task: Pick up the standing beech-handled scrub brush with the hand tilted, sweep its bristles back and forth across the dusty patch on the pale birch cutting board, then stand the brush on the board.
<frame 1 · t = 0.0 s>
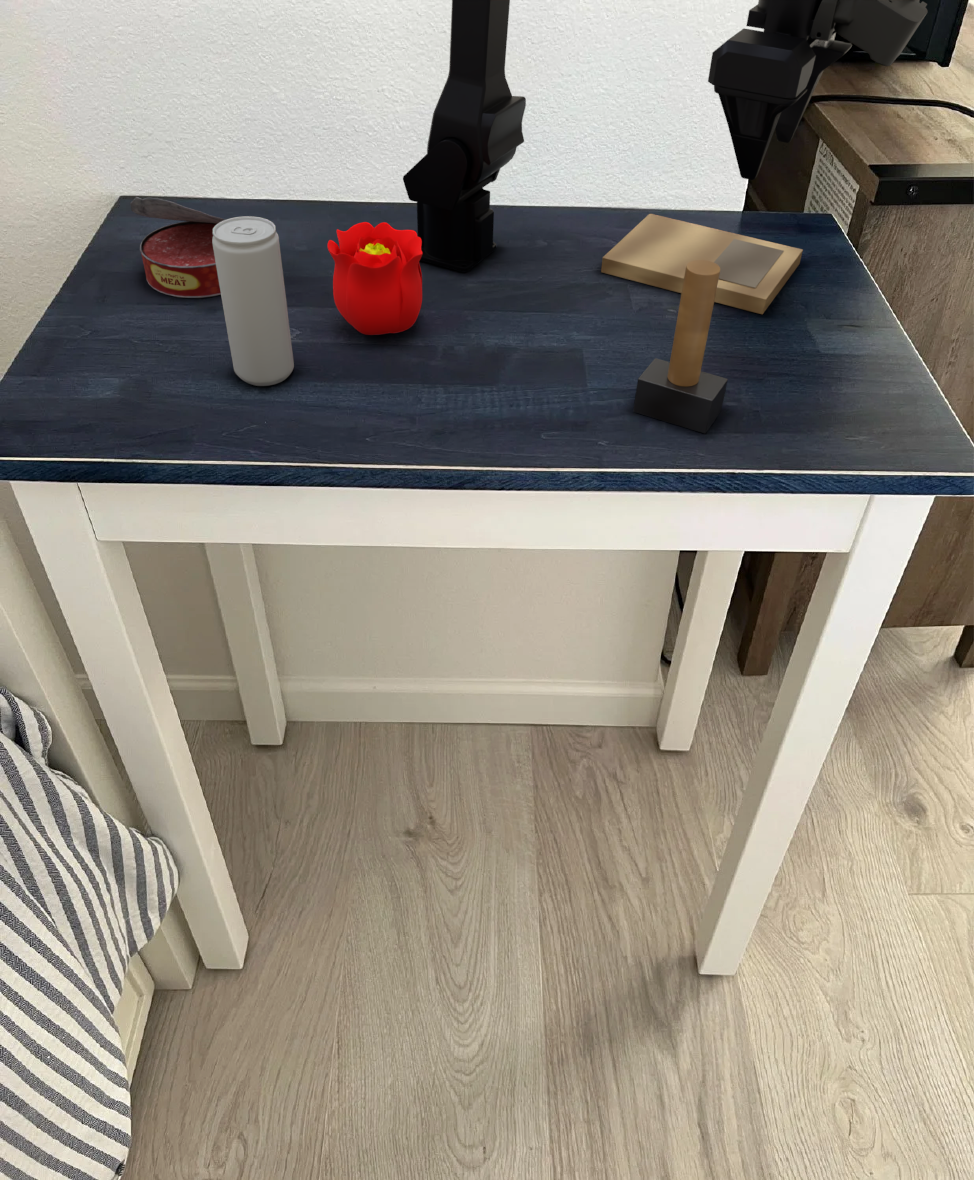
hand: (766, 159, 79), 15 cm above the table, tool pointing down, fingers open, 9 cm apart
cutting board: (701, 268, 98), on the table
canned food: (201, 275, 94), on the table
scrub brush: (677, 411, 79), on the table
flower: (380, 330, 88), on the table
beverage can: (265, 375, 82), on the table
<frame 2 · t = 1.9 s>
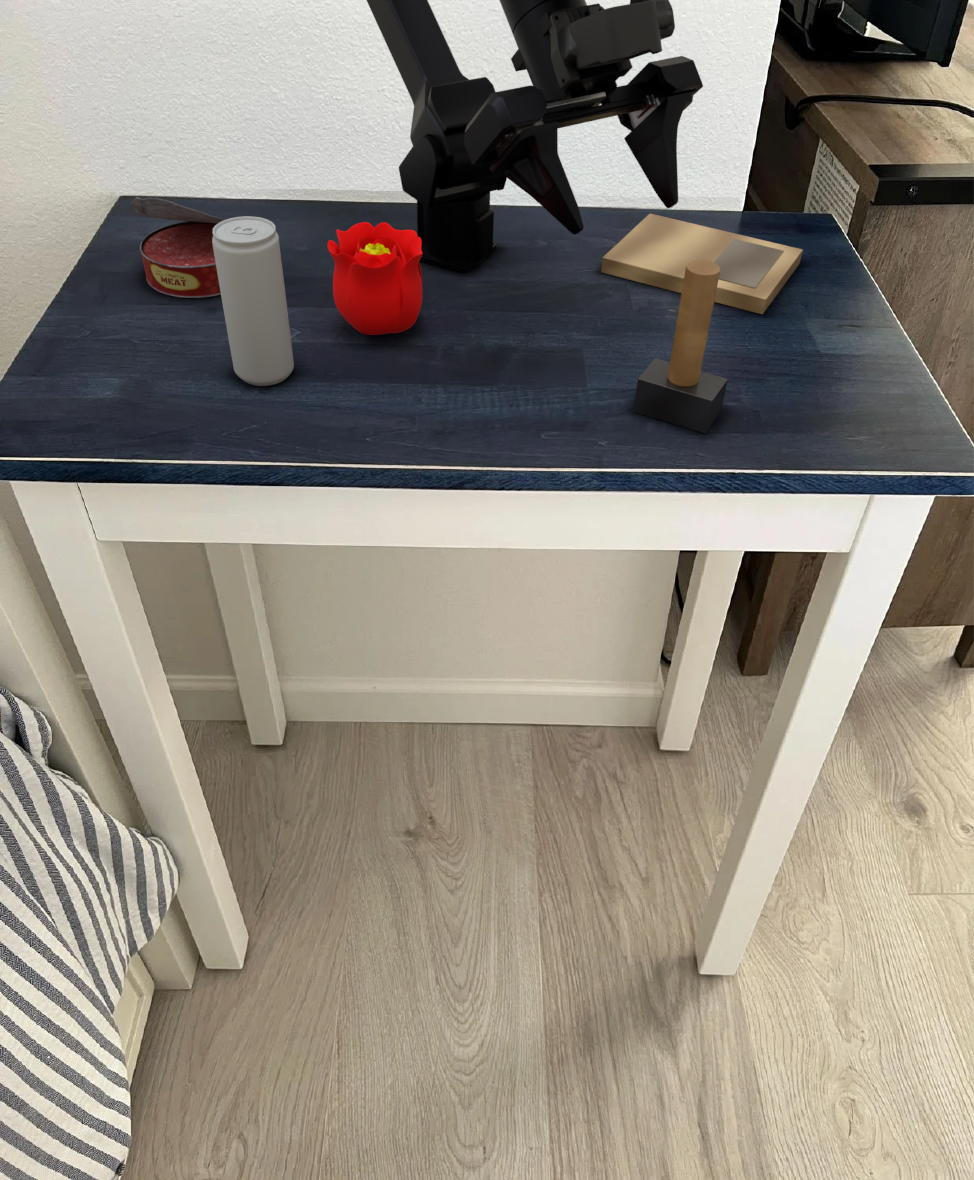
hand: (627, 218, 76), 12 cm above the table, tool tilted 45°, fingers open, 9 cm apart
nothing on the table moved.
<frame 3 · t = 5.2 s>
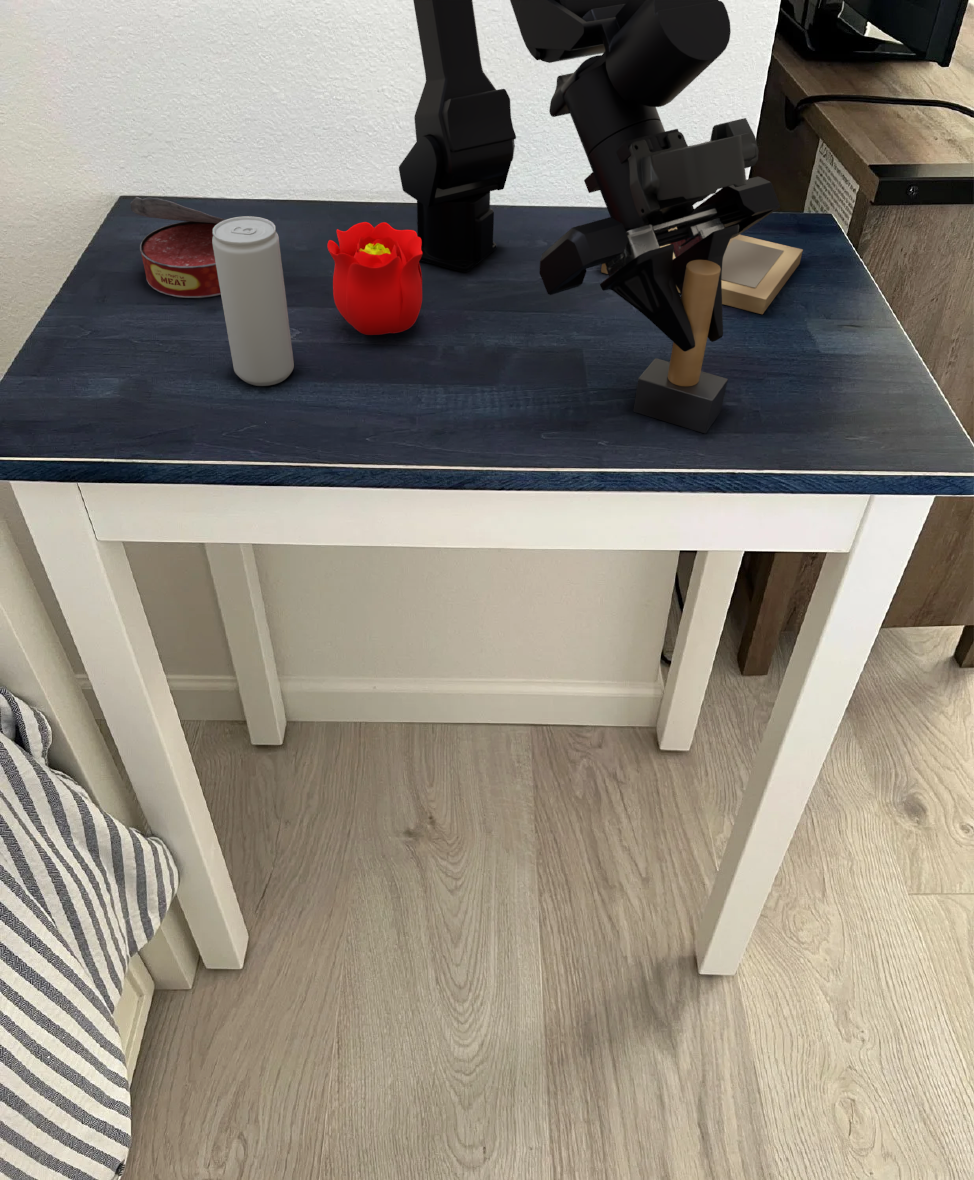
hand: (703, 344, 74), 7 cm above the table, tool tilted 45°, fingers closed on scrub brush, 2 cm apart
scrub brush: (677, 411, 79), on the table, touching gripper
everything else where it was.
when the fingers open (8 cm above the table, at t = 15.9 s): scrub brush stays where it is, resting on cutting board.
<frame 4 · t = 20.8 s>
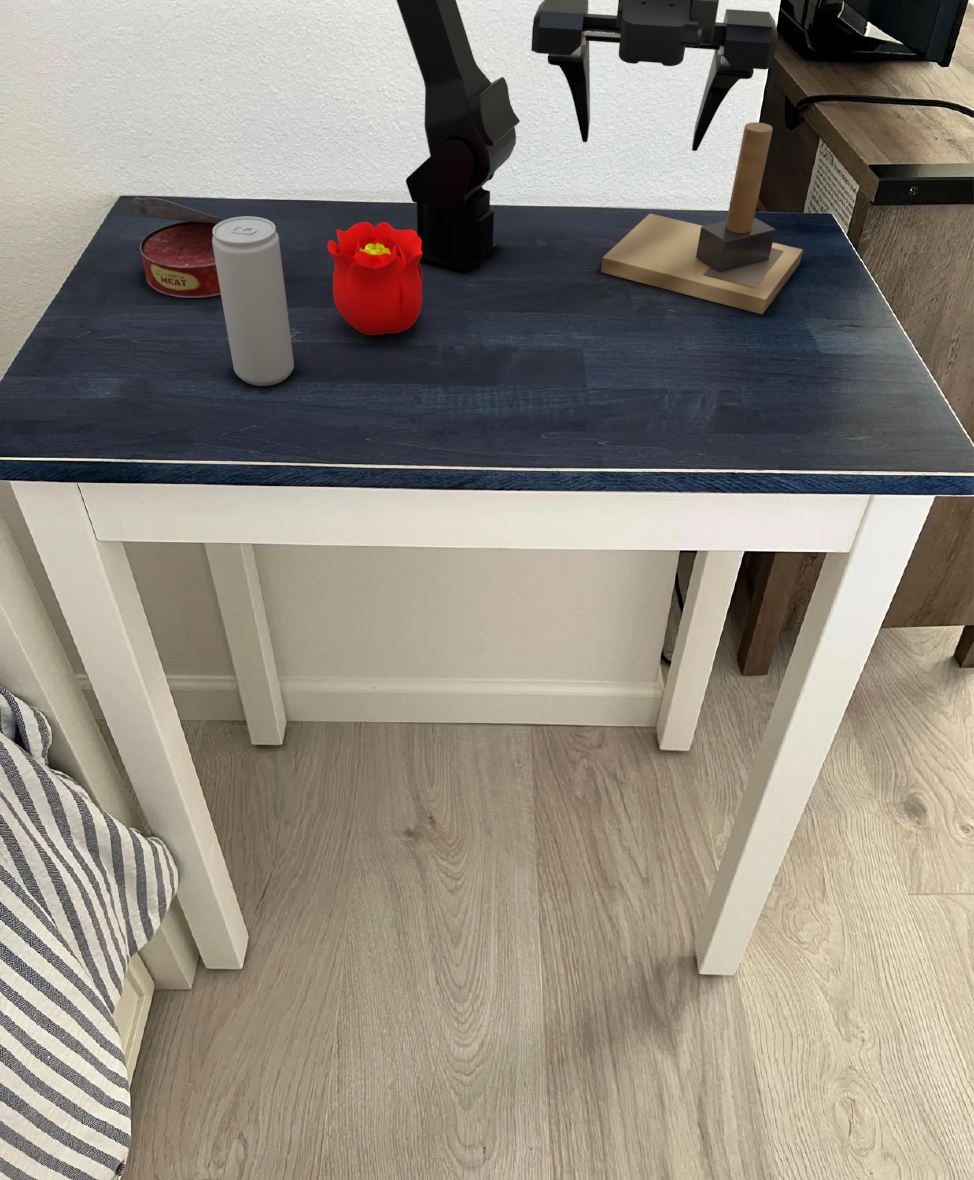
hand: (639, 145, 85), 13 cm above the table, tool pointing down, fingers open, 9 cm apart
scrub brush: (732, 258, 96), point 2 cm above the table, touching cutting board
everything else where it was.
at the end: scrub brush inside the target area on the cutting board (2.8 cm from its centre), point 1.6 cm above the cutting board's base; scrub brush tilted 0°; scrub brush touching cutting board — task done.
